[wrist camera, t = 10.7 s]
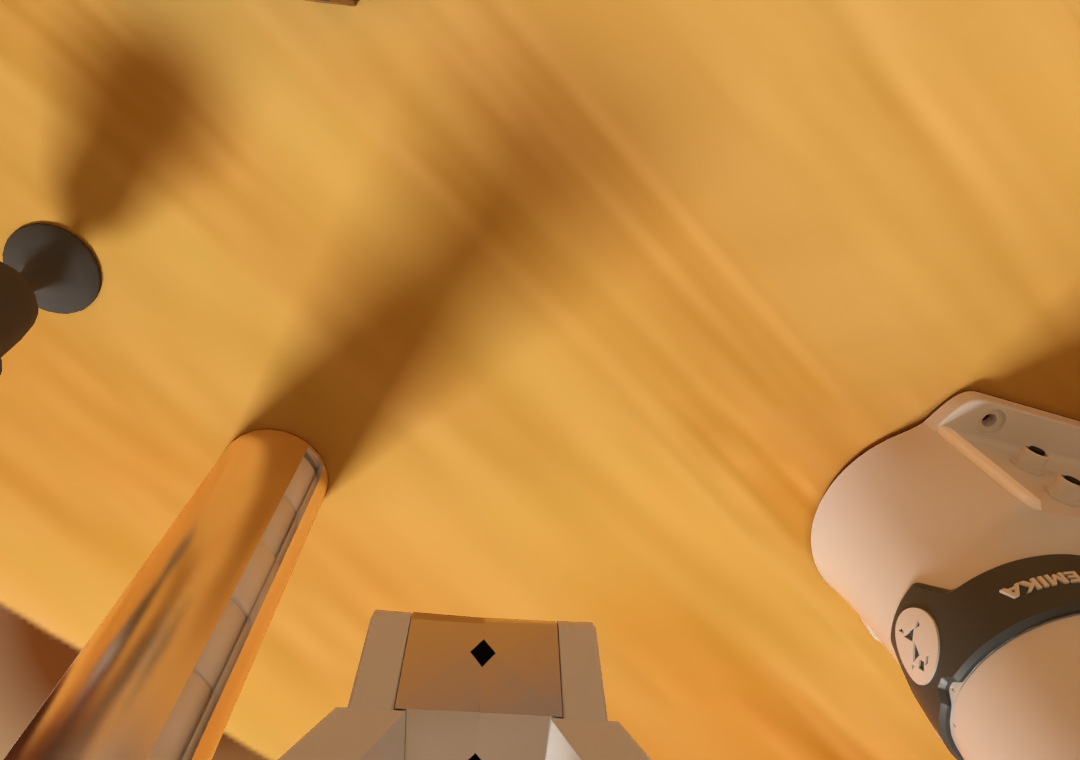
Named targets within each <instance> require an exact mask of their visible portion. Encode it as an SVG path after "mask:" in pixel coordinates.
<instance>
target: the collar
mask: <svg viewBox="0 0 1080 760" xmlns="http://www.w3.org/2000/svg"><path fill="white" fill-rule="evenodd" d="M306 1H312V2H321V3H330V4H339V5H348V6H355V0H306Z"/></svg>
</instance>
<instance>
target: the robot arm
mask: <svg viewBox="0 0 1080 760" xmlns="http://www.w3.org/2000/svg"><path fill="white" fill-rule="evenodd" d="M988 414H989V417H988V418H987V419H985V420H983V421H982V419H983V418H984V417H985V416H986V415H988ZM811 547H812V553H813V558H814V561H815V564H816V566H817V568H818V570H819V572H820V574H821V575H822V577H823V578H824V580H825V581H826V582H827V583H828V584H829V585H830V586H831V587H832V588H833V589H834V590H835V591H836V592H837V593H838V594H839V595H840V596H842V597H843V598H844V599H845V600H846V601H847V602H848V603H849V604H850V605H851V607H852V608H853V609H854V610H855V611H856V612H857V613H858V614H859V616H860V617H861V620H862V622H863V624H864V625H865V627H866V628H867V629H868V631H869V632H870V633H871V635H872V636H873V637H874V638H875V639H876V640H878V641H880V642H882V643H883V644H884V646H885V647H886V648H887V650H888V651H889V652H890V653H891V655H892V656H893V657H894V658H895V660H896V661H897V662H898V663H899V665H900V666H901V668H902V670H903V673H904V675H905V677H906V679H907V681H908V684H909V686H910V688H911V690H912V692H913V694H914V696H915V698H916V699H917V701H918V703H919V704H920V706H921V708H922V709H923V711H924V712H925V714H926V716H927V717H928V719H929V720H930V722H931V724H932V725H933V727H934V729H935V731H936V733H937V734H938V736H939V737H940V739H941V740H942V741H943V742H944V744H945V745H946V747H947V748H948V750H949V751H950V752H951V754H952V755H953V756H954V757H955V758H956V759H957V760H1080V421H1077V420H1074V419H1070V418H1067V417H1063V416H1060V415H1056V414H1053V413H1049V412H1046V411H1042V410H1039V409H1035V408H1032V407H1028V406H1025V405H1021V404H1018V403H1014V402H1011V401H1007V400H1004V399H1000V398H997V397H993V396H990V395H987V394H983V393H979V392H975V391H967V392H963V393H960V394H958V395H956V396H955V397H953V398H951V399H950V400H949V401H947V402H946V403H945V404H943V405H942V406H941V407H940V408H939V409H938V410H936V411H935V412H934V413H933V414H932V415H931V416H930V417H929V418H927V419H926V420H925V421H924V422H923V423H921V424H920V425H918V426H916V427H914V428H912V429H910V430H908V431H906V432H903V433H901V434H899V435H896V436H894V437H892V438H890V439H887V440H885V441H883V442H881V443H880V444H878V445H876V446H874V447H873V448H871V449H870V450H868V451H867V452H865V453H864V454H862V455H861V456H860V457H858V458H857V459H856V460H854V461H853V462H852V463H851V464H850V465H849V466H848V467H847V468H846V469H844V470H843V472H842V473H841V474H840V475H839V476H838V477H837V478H836V479H835V481H834V482H833V483H832V484H831V486H830V487H829V489H828V490H827V492H826V493H825V495H824V497H823V498H822V500H821V502H820V504H819V507H818V509H817V512H816V514H815V517H814V521H813V526H812V533H811ZM278 760H651V759H650V758H649V756H648V755H647V754H646V753H645V752H644V751H643V749H642V748H641V747H640V746H639V745H638V744H637V742H636V741H635V740H634V739H633V738H632V737H631V735H630V734H629V733H628V732H627V731H626V730H625V728H624V727H623V726H622V725H621V724H620V723H619V722H613V721H608V720H607V712H606V704H605V696H604V689H603V681H602V673H601V665H600V658H599V650H598V642H597V634H596V628H595V626H594V625H593V623H590V622H568V621H557V622H555V621H539V620H519V619H500V618H478V617H467V616H455V615H443V614H431V613H419V612H413V613H408V612H397V611H386V610H375V612H374V614H373V615H372V617H371V620H370V623H369V627H368V631H367V635H366V639H365V643H364V647H363V650H362V654H361V658H360V662H359V666H358V670H357V673H356V677H355V681H354V685H353V689H352V693H351V697H350V700H349V704H348V708H339V707H336V708H335V709H334V710H333V711H331V712H330V713H329V714H328V715H327V716H326V717H325V718H324V719H323V720H321V721H320V722H319V723H318V724H317V725H316V726H315V727H314V728H313V729H311V730H310V731H309V732H308V733H307V734H306V735H305V736H304V737H303V738H301V739H300V740H299V741H298V742H297V743H296V744H295V745H294V746H293V747H291V748H290V749H289V750H288V751H287V752H286V753H285V754H284V755H283V756H282V757H280V758H279V759H278Z"/></svg>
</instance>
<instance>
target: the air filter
mask: <svg viewBox="0 0 1080 760" xmlns="http://www.w3.org/2000/svg"><path fill="white" fill-rule="evenodd" d="M327 486H328V475H327V471H326V466H325V464H324V462H323V461H322V459H321V457H320V455H319V454H318V453H317V452H316V451H315V450H314V449H313V447H312V446H311V445H310V444H308V443H307V442H305V441H304V440H302V439H301V438H299V437H297V436H295V435H292V434H290V433H287V432H284V431H278V430H272V429H266V430H255V431H252V432H249V433H246V434H243V435H241V436H240V437H238V438H237V439H235V440H234V441H232V442H231V443H230V445H229V446H228V447H227V448H226V450H225V451H224V452H223V454H222V455H221V456H220V458H219V459H218V461H217V462H216V463H215V465H214V466H213V468H212V469H211V470H210V472H209V473H208V475H207V476H206V477H205V479H204V480H203V482H202V483H201V484H200V486H199V487H198V489H197V490H196V491H195V493H194V494H193V496H192V497H191V498H190V500H189V501H188V503H187V504H186V505H185V507H184V508H183V510H182V511H181V512H180V514H179V515H178V517H177V518H176V519H175V521H174V522H173V523H172V525H171V526H170V528H169V529H168V530H167V532H166V533H165V535H164V536H163V537H162V539H161V540H160V542H159V543H158V544H157V546H156V547H155V549H154V550H153V551H152V553H151V554H150V556H149V557H148V558H147V560H146V561H145V563H144V564H143V565H142V567H141V568H140V570H139V571H138V572H137V574H136V575H135V577H134V578H133V579H132V581H131V582H130V584H129V585H128V586H127V588H126V589H125V591H124V592H123V593H122V595H121V596H120V597H119V599H118V600H117V602H116V603H115V604H114V606H113V607H112V609H111V610H110V611H109V613H108V614H107V616H106V617H105V618H104V620H103V621H102V623H101V624H100V625H99V627H98V628H97V630H96V631H95V632H94V634H93V635H92V637H91V638H90V639H89V641H88V642H87V644H86V645H85V646H84V648H83V649H82V651H81V652H80V653H79V655H78V656H77V658H76V659H75V660H74V662H73V663H72V665H71V666H70V667H69V669H68V670H67V672H66V673H65V675H64V676H63V677H62V678H61V680H60V681H59V683H58V684H57V685H56V687H55V688H54V690H53V691H52V692H51V694H50V695H49V697H48V698H47V699H46V701H45V702H44V704H43V705H42V706H41V708H40V709H39V711H38V712H37V713H36V715H35V716H34V718H33V719H32V720H31V722H30V723H29V725H28V726H27V727H26V729H25V730H24V732H23V733H22V734H21V736H20V737H19V739H18V740H17V741H16V743H15V744H14V746H13V747H12V748H11V750H10V751H9V753H8V754H7V755H6V757H5V758H4V760H211V759H212V757H213V755H214V752H215V750H216V748H217V745H218V743H219V741H220V738H221V736H222V734H223V731H224V729H225V727H226V724H227V722H228V720H229V717H230V715H231V713H232V710H233V708H234V706H235V703H236V701H237V699H238V696H239V694H240V692H241V689H242V687H243V685H244V683H245V680H246V678H247V676H248V673H249V671H250V669H251V666H252V664H253V662H254V659H255V657H256V655H257V652H258V650H259V648H260V645H261V643H262V641H263V638H264V636H265V634H266V631H267V629H268V627H269V624H270V622H271V620H272V617H273V615H274V613H275V610H276V608H277V606H278V603H279V601H280V599H281V596H282V594H283V592H284V589H285V587H286V585H287V582H288V580H289V578H290V575H291V573H292V571H293V568H294V566H295V564H296V561H297V559H298V557H299V554H300V552H301V550H302V547H303V545H304V543H305V540H306V538H307V536H308V533H309V531H310V529H311V526H312V524H313V522H314V519H315V517H316V515H317V512H318V510H319V508H320V505H321V503H322V501H323V498H324V496H325V494H326V491H327Z"/></svg>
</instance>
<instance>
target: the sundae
mask: <svg viewBox="0 0 1080 760" xmlns="http://www.w3.org/2000/svg"><path fill="white" fill-rule="evenodd" d="M99 288H100V272H99V267H98V265H97V263H96V260H95V258H94V257H93V255H92V253H91V251H90V250H89V249H88V248H87V247H86V246H85V245H84V243H83V242H81V241H80V240H79V239H78V238H77V237H76V236H74V235H73V234H71V233H69V232H68V231H66V230H64V229H61V228H59V227H57V226H52V225H48V224H38V223H37V224H31V225H27V226H24V227H21V228H19V229H18V230H16V231H15V232H14V233H13V234H12V235H11V236H10V237H9V238H8V240H7V242H6V244H5V247H4V251H3V263H2V262H0V375H1V372H2V360H1V357H2V356H3V355H4V354H5V353H6V352H8V351H9V350H10V349H11V348H12V347H13V346H14V345H15V344H16V343H18V342H19V341H20V340H21V339H22V338H23V336H24V335H25V334H26V333H27V332H28V330H29V329H30V328H31V327H32V326H33V324H34V323H35V320H36V318H37V315H38V307H39V308H41V309H43V310H46V311H50V312H55V313H63V314H68V313H74V312H77V311H81V310H83V309H85V308H86V307H87V306H89V305H90V304H91V303H92V302H93V301H94V300H95V298H96V296H97V294H98V292H99Z"/></svg>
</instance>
